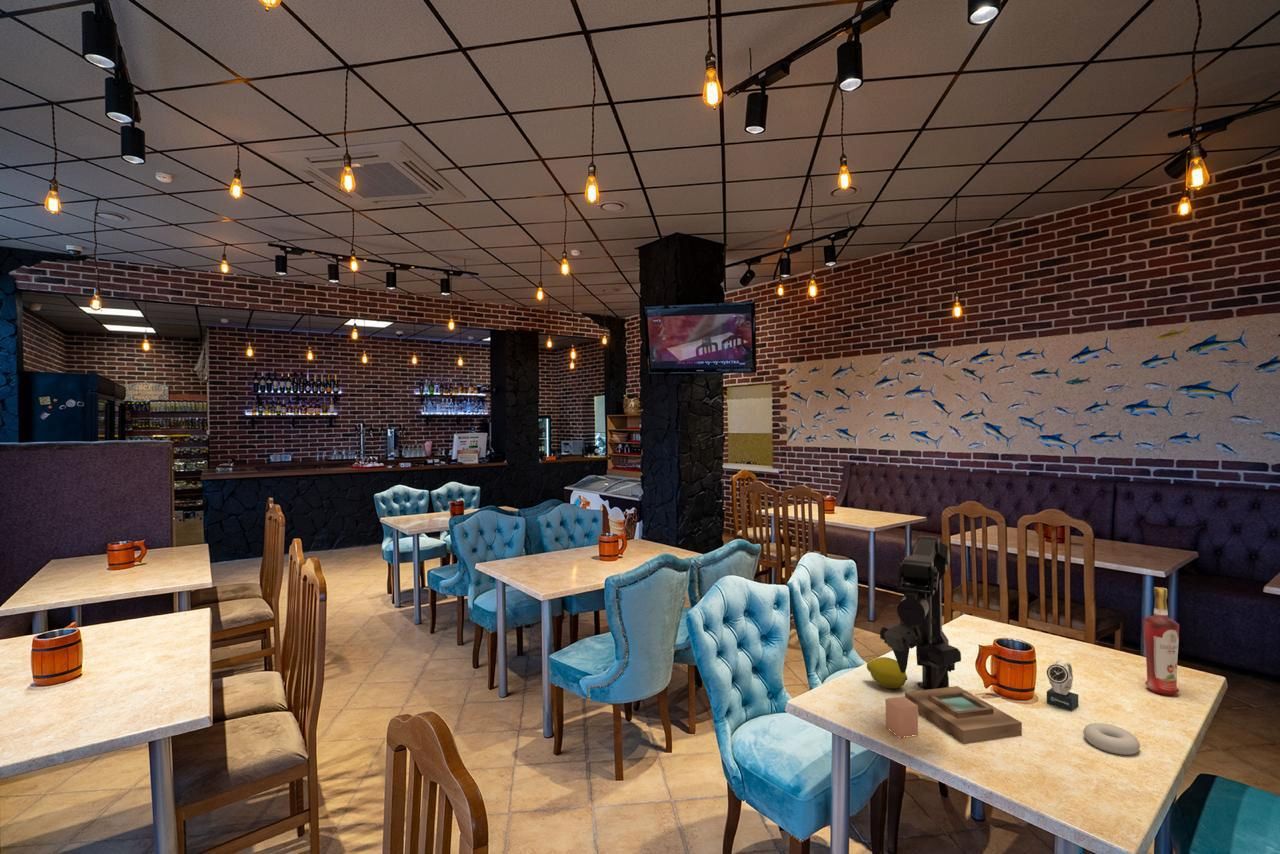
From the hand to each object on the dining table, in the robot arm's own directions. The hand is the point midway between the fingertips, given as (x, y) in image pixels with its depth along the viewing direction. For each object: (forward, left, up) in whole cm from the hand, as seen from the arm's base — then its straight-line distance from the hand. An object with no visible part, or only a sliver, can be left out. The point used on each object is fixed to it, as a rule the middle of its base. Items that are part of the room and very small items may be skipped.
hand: (918, 680), depth 137 cm
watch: (-4, +46, -13) cm, 48 cm away
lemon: (-24, +9, -13) cm, 28 cm away
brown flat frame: (-4, +15, -13) cm, 20 cm away
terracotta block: (-2, -3, -13) cm, 13 cm away
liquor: (-4, +79, -13) cm, 80 cm away
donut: (+14, +39, -13) cm, 43 cm away
